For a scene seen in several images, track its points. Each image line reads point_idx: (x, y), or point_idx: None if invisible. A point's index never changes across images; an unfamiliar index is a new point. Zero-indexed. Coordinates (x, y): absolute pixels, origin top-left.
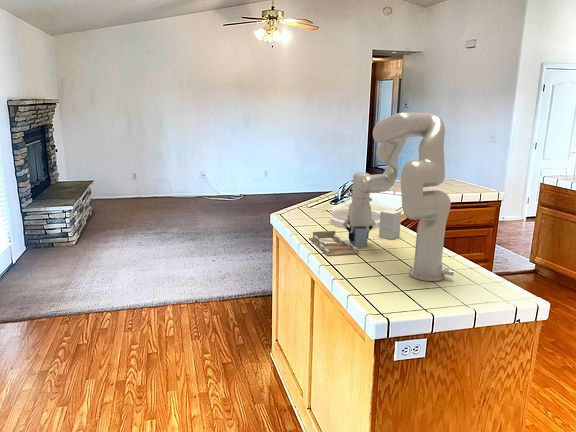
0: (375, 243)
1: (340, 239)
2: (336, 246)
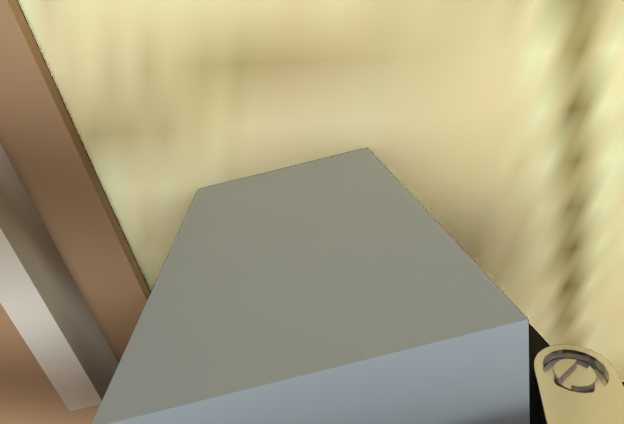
0: (569, 210)
1: (12, 291)
2: (5, 419)
